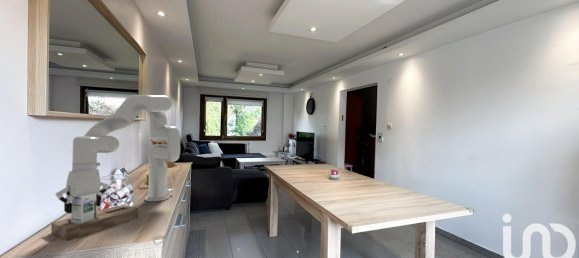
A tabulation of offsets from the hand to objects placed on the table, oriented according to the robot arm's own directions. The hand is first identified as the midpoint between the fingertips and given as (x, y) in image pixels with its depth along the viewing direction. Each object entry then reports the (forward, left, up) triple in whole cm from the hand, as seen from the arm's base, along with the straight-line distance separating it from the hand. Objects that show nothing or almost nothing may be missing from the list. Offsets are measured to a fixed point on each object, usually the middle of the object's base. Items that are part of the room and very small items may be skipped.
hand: (83, 209), depth 97 cm
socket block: (-6, 0, -8) cm, 10 cm away
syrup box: (0, 0, -8) cm, 9 cm away
